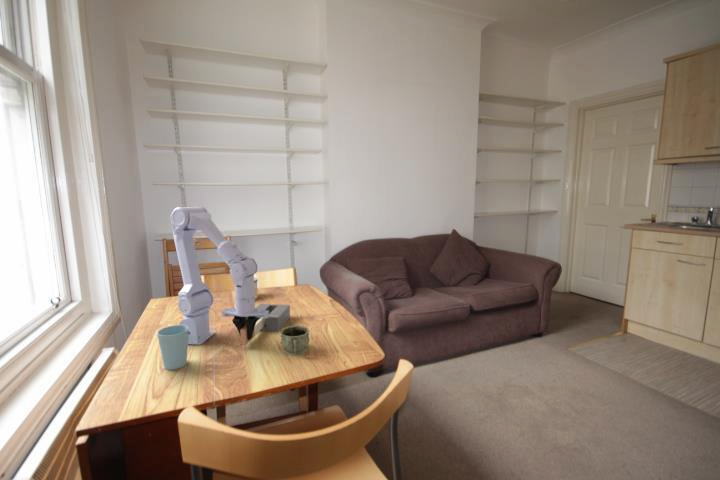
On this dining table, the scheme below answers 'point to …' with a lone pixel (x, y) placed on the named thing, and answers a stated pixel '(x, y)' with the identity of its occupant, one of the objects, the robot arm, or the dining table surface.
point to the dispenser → (275, 316)
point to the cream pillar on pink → (257, 328)
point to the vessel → (294, 339)
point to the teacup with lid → (255, 288)
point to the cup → (173, 346)
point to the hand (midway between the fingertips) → (246, 338)
